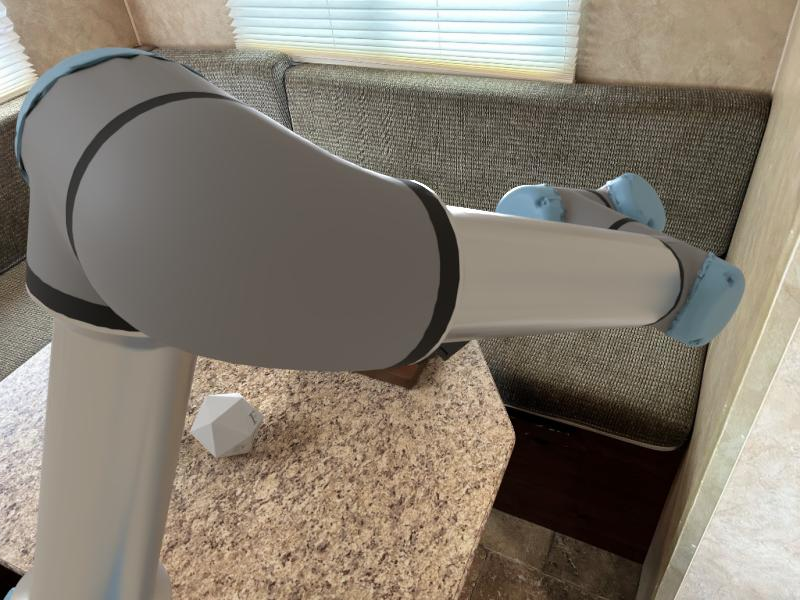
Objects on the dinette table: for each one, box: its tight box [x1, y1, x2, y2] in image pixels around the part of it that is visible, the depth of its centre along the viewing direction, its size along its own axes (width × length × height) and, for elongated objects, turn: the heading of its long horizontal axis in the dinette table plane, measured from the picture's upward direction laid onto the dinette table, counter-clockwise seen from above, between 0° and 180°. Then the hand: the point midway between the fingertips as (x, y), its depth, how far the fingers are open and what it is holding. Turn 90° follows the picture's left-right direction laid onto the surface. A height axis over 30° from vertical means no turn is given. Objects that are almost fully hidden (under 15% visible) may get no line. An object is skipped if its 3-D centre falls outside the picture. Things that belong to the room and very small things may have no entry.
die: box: [189, 392, 265, 459], centre depth 83 cm, size 8×9×10 cm
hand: (431, 326), depth 89 cm, fingers open, 13 cm apart
